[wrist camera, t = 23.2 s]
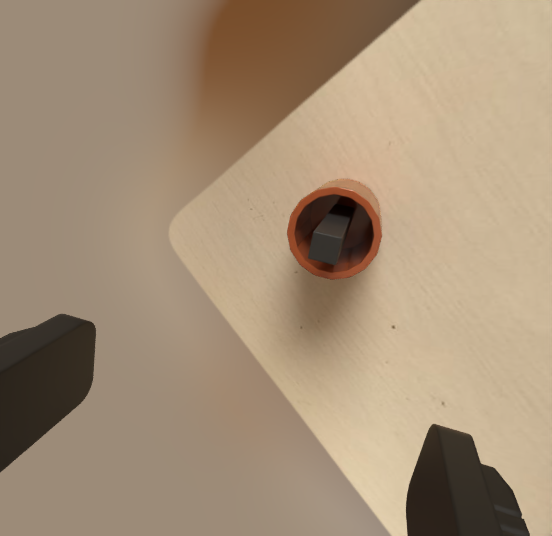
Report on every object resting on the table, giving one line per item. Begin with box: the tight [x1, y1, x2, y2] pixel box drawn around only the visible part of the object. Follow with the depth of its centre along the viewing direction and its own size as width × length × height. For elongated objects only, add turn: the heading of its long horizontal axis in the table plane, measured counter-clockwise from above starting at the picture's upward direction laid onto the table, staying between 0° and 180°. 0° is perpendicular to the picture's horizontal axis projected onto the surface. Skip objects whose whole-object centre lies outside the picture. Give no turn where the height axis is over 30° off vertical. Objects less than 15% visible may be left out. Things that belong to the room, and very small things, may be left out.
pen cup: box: [287, 179, 382, 279], centre depth 32 cm, size 6×6×8 cm
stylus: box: [308, 204, 354, 265], centre depth 29 cm, size 2×2×13 cm
